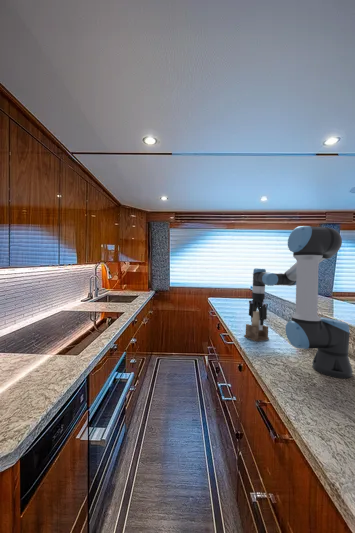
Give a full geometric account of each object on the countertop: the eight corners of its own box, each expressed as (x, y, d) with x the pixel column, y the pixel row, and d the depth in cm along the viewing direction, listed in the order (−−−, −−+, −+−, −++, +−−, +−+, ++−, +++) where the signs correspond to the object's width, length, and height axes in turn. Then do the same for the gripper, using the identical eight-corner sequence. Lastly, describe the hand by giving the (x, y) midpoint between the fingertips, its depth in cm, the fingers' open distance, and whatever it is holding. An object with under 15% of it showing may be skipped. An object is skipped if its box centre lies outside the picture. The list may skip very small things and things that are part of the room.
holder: (268, 339, 146) (269, 326, 146) (256, 341, 141) (256, 328, 141) (256, 334, 155) (257, 322, 155) (244, 336, 150) (244, 324, 150)
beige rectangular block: (263, 329, 147) (264, 312, 147) (256, 330, 144) (257, 313, 144) (256, 327, 152) (257, 310, 152) (250, 328, 149) (251, 311, 149)
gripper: (274, 294, 141) (272, 332, 142) (252, 290, 157) (250, 324, 158) (265, 294, 138) (263, 333, 138) (243, 290, 154) (242, 325, 155)
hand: (256, 328), depth 148 cm, fingers closed on beige rectangular block, 5 cm apart
